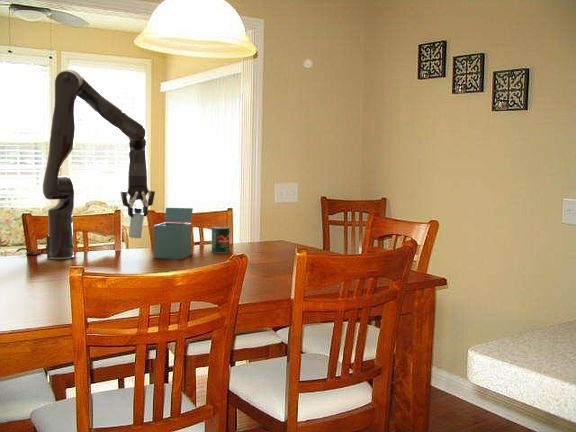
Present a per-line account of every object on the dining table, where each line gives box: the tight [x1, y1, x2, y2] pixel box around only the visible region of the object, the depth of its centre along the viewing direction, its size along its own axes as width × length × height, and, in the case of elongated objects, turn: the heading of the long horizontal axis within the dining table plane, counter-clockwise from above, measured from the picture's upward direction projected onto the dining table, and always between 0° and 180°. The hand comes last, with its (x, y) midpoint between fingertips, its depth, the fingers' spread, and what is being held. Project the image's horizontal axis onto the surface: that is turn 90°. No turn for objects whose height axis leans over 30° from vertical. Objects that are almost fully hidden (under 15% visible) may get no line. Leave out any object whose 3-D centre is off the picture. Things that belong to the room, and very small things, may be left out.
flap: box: [164, 207, 194, 223], centre depth 258 cm, size 12×6×1 cm
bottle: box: [128, 207, 145, 239], centre depth 244 cm, size 5×5×12 cm
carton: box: [153, 221, 192, 260], centre depth 252 cm, size 12×12×14 cm
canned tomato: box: [211, 225, 231, 254], centre depth 266 cm, size 8×8×11 cm
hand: (138, 216), depth 244 cm, fingers closed on bottle, 5 cm apart
